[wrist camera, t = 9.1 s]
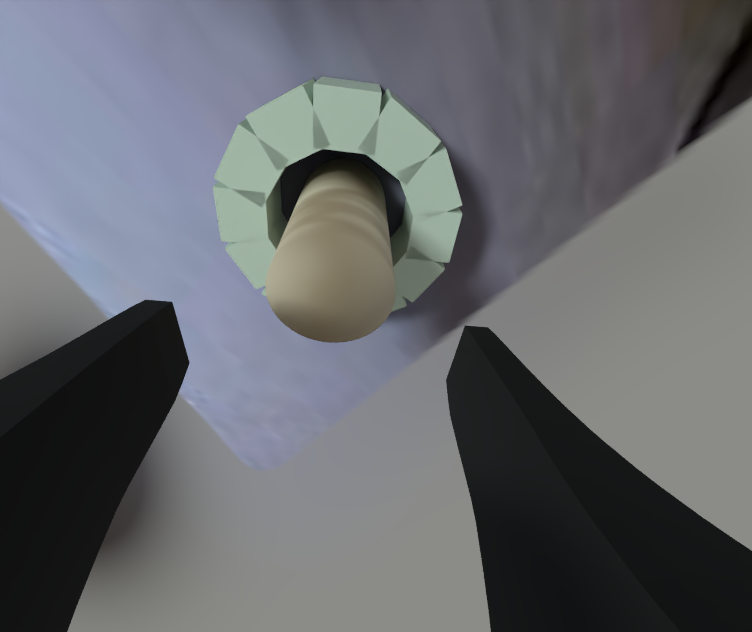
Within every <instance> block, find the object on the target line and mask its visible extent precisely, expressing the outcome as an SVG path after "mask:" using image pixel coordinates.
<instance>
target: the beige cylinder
mask: <svg viewBox="0 0 752 632" xmlns="http://www.w3.org/2000/svg"><path fill="white" fill-rule="evenodd" d="M265 285H266V295H267V299H268V302H269V304H270V306H271V308H272V310H273V311H274V313H275V314H276V316H277V317H278V318H279V319H280V320H281V321H282V322H283V323H284V324H285V325H286V326H287V327H289V328H290V329H291V330H293V331H295V332H296V333H298V334H300V335H302V336H304V337H307V338H310V339H313V340H317V341H322V342H336V343H337V342H347V341H352V340H356V339H359V338H361V337H364V336H366V335H368V334H370V333H372V332H373V331H374V330H376V329H377V328H378V327H380V326H381V325H382V324H383V323H384V321H385V320H386V319H387V318H388V316H389V314H390V313H391V311H392V308H393V306H394V302H395V295H396V288H395V278H394V270H393V262H392V253H391V245H390V237H389V228H388V220H387V212H386V203H385V195H384V190H383V187H382V185H381V183H380V181H379V179H378V178H377V176H376V175H375V174H374V173H373V172H372V171H371V170H370V169H369V168H368V167H366V166H365V165H363V164H361V163H359V162H357V161H354V160H350V159H334V160H330V161H327V162H325V163H323V164H321V165H319V166H318V167H317V168H315V169H314V170H313V172H312V173H311V174H310V175H309V177H308V178H307V180H306V182H305V185H304V187H303V189H302V192H301V194H300V196H299V199H298V201H297V203H296V206H295V208H294V210H293V213H292V215H291V217H290V220H289V222H288V224H287V227H286V229H285V231H284V234H283V236H282V238H281V241H280V243H279V245H278V248H277V250H276V252H275V255H274V257H273V259H272V262H271V264H270V266H269V269H268V272H267V275H266V282H265Z"/></svg>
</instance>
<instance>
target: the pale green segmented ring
mask: <svg viewBox="0 0 752 632" xmlns="http://www.w3.org/2000/svg"><path fill="white" fill-rule="evenodd" d="M381 95H382V92H381V88H380V84H374V83H366V82H359V81H352V80H344V79H337V78H330V77H323V76H322V77H321V78H320V79H318V80H317V81H316V82H315V80H314V78H313V79H311V80H309V81H307V82H305V83H304V84H302V85H300V86H298V87H296V88H294V89H292V90H291V91H289V92H287V93H285V94H283V95H281V96H280V97H278V98H276V99H274V100H272V101H270V102H269V103H267V104H265V105H263V106H262V107H260V108H258V109H257V110H255V111H253V112H252V113H250V114H248V115H247V116H245V117H246V119H245V120H244V121H242V122H240V123H239V124H238V126H237V128H236V130H235V132H234V135H233V137H232V139H231V141H230V143H229V146H228V148H227V150H226V152H225V154H224V156H223V159H222V161H221V163H220V165H219V167H218V170H217V172H216V174H215V176H214V178H215V179H216V180H218V182H217V183H216V184H215V185H214V186H213V192H214V198H215V205H216V211H217V217H218V223H219V230H220V236H221V241H226V242H229V243H228V245H227V246H226V248H225V250H226V251H227V252H228V254H229V255H230V256H231V257H232V259H233V260H234V261H235V263H236V264H237V265H238V267H239V268H240V269H241V271H242V272H243V273H244V274H245V276H246V277H247V278H248V280H249V281H250V282H251V284H252V285H253V286H254V287H255V289H258V288H260V287H263V286H265V282H266V275H267V272H268V269H269V266H270V264H271V262H272V259H273V257H274V255H275V252H276V250H277V248H278V245H279V243H280V241H281V238H282V236H283V234H284V231H285V229H286V227H287V224H288V221H287V219H286V218H285V216H284V214H283V213H282V205H281V183H280V178H281V176H282V175H283V173H284V171H285V169H286V167H287V166H288V165H291V164H293V163H295V162H297V161H299V160H301V159H303V158H305V157H307V156H309V155H311V154H313V153H315V152H317V151H319V150H321V149H327V150H335V151H343V152H352V153H360V154H366V155H368V156H369V157H370V158H371V159H373V160H374V161H375V162H376V163H378V164H379V165H380V166H382V167H383V168H384V169H385V170H387V171H388V172H389V173H391V174H392V175H393V176H394V177H396V178H397V179H398V180H399V181H400V183H401V186H402V188H403V191H404V194H405V196H406V202H405V208H404V214H403V219H402V224H401V226H400V227H399V228H398V229H397V230H396V232H395V233H394V234H393V235H392V237H391V238H390V245H391V253H392V262H393V270H394V278H395V288H396V295H395V302H394V306H393V308H392V311H395V310H398V309H401V308H404V307H407V305H406V299H408V300H409V301H411V302H414V301H415V300H416V299H417V298H418V297H419V296H420V295H421V294H422V293H423V292H424V291H425V290H426V289H427V288H428V287H429V286H430V285H431V284H432V282H433V281H434V280H435V279H436V278H437V277H438V276H439V275H440V274H441V273H442V272H443V271H444V270H445V267H444V264H443V262H446V263H449V262H450V258H451V254H452V251H453V247H454V243H455V240H456V236H457V232H458V229H459V225H460V221H461V218H462V212H461V210H460V208H459V206H462V202H461V198H460V195H459V191H458V188H457V184H456V181H455V177H454V174H453V170H452V167H451V164H450V160H449V157H448V153H447V150H446V148H445V147H444V145H443V144H442V143H441V140H440V139H439V137H438V136H437V135H436V133H435V132H434V131H433V129H432V128H431V127H430V125H428V124H427V123H426V122H425V121H424V120H423V119H422V118H421V117H419V116H418V115H417V114H416V113H415V112H414V111H413V110H412V109H411V108H409V107H408V106H407V105H406V104H405V103H404V102H403V101H402V100H400V99H399V98H398V97H397V96H396V95H395V94H394V93H393V92H391V91H390V90H389V89H387V90H386V92H385V93H384V95H383V96H382V98H381ZM262 295H264V296H266V297H267V295H266V286H265V288H264V290H263V293H262ZM392 311H391V312H392Z"/></svg>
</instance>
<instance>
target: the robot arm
mask: <svg viewBox="0 0 752 632" xmlns="http://www.w3.org/2000/svg"><path fill="white" fill-rule="evenodd" d="M188 366H189V360H188V356H187V353H186V349H185V346H184V342H183V338H182V335H181V331H180V328H179V324H178V321H177V317H176V314H175V310H174V307H173V303H172V302H167V301H154V300H144V301H142V302H140V303H138V304H136V305H134V306H132V307H130V308H129V309H127V310H125V311H123V312H121V313H120V314H118V315H116V316H114V317H113V318H111V319H109V320H107V321H106V322H104V323H102V324H100V325H99V326H97V327H95V328H94V329H92V330H90V331H88V332H87V333H85V334H83V335H81V336H80V337H78V338H76V339H74V340H73V341H71V342H69V343H67V344H65V345H64V346H62V347H60V348H59V349H57V350H55V351H53V352H51V353H50V354H48V355H46V356H44V357H42V358H40V359H38V360H37V361H35V362H33V363H31V364H29V365H27V366H25V367H24V368H22V369H20V370H18V371H16V372H14V373H12V374H10V375H8V376H7V377H5V378H3V379H1V380H0V632H67V631H68V628H69V625H70V623H71V620H72V617H73V614H74V612H75V609H76V606H77V604H78V601H79V599H80V596H81V594H82V591H83V589H84V586H85V584H86V581H87V579H88V576H89V574H90V571H91V569H92V566H93V564H94V561H95V559H96V556H97V554H98V552H99V549H100V547H101V544H102V542H103V540H104V538H105V535H106V533H107V531H108V528H109V526H110V524H111V521H112V519H113V517H114V515H115V512H116V510H117V508H118V506H119V504H120V502H121V500H122V497H123V496H124V494H125V492H126V489H127V487H128V485H129V484H130V482H131V480H132V478H133V477H134V475H135V473H136V471H137V469H138V468H139V466H140V464H141V462H142V460H143V458H144V457H145V455H146V453H147V451H148V449H149V448H150V446H151V444H152V442H153V440H154V439H155V437H156V435H157V433H158V431H159V430H160V428H161V426H162V424H163V422H164V420H165V418H166V416H167V414H168V413H169V411H170V409H171V407H172V405H173V404H174V402H175V400H176V397H177V395H178V392H179V390H180V387H181V385H182V382H183V379H184V377H185V374H186V371H187V368H188ZM446 382H447V393H448V402H449V409H450V416H451V421H452V425H453V429H454V433H455V437H456V441H457V445H458V449H459V453H460V457H461V461H462V464H463V469H464V473H465V477H466V480H467V485H468V488H469V492H470V496H471V501H472V505H473V510H474V515H475V520H476V526H477V532H478V539H479V545H480V552H481V558H482V565H483V572H484V579H485V587H486V595H487V602H488V609H489V617H490V627H491V632H752V551H751V550H750V549H748V548H747V547H745V546H744V545H742V544H741V543H739V542H737V541H736V540H734V539H733V538H732V537H730V536H729V535H727V534H726V533H724V532H723V531H721V530H720V529H718V528H717V527H716V526H714V525H713V524H711V523H710V522H708V521H707V520H705V519H704V518H702V517H701V516H700V515H698V514H697V513H696V512H694V511H693V510H691V509H690V508H689V507H687V506H686V505H685V504H683V503H682V502H680V501H679V500H678V499H676V498H675V497H674V496H672V495H671V494H670V493H668V492H667V491H665V490H664V489H663V488H661V487H660V486H659V485H657V484H656V483H655V482H654V481H652V480H651V479H650V478H648V477H647V476H646V475H644V474H643V473H642V472H641V471H639V470H638V469H636V468H635V467H634V466H633V465H632V464H631V463H629V462H628V461H627V460H626V459H625V458H623V457H622V456H621V455H620V454H618V453H617V452H616V451H615V450H614V449H612V448H611V447H610V446H609V445H607V444H606V443H605V442H604V441H603V440H601V439H600V438H599V437H598V436H597V435H596V434H595V433H593V432H592V431H591V430H590V429H589V428H588V427H587V426H586V425H585V424H584V423H582V422H581V421H580V420H579V419H578V418H577V417H576V416H575V415H574V414H573V413H572V412H571V411H570V410H568V409H567V408H566V407H565V406H564V405H563V404H562V403H561V402H560V401H559V400H558V399H557V398H556V397H555V396H554V395H553V394H552V393H551V392H550V391H549V390H548V389H547V388H546V387H545V386H544V385H543V384H542V383H541V382H540V381H539V380H538V379H537V378H536V377H535V376H534V375H533V374H532V373H531V372H530V371H529V370H528V369H527V368H526V367H525V366H524V364H522V362H521V361H520V360H519V359H518V358H517V357H516V356H515V355H514V354H513V353H512V352H511V351H510V350H509V348H508V347H507V346H506V345H505V344H504V343H503V342H502V341H501V340H500V339H499V338H498V337H497V336H496V335H495V334H494V333H493V332H492V331H491V330H490V329H489V328H487V327H475V326H465V327H464V330H463V333H462V336H461V339H460V342H459V345H458V348H457V350H456V353H455V356H454V359H453V362H452V365H451V368H450V371H449V374H448V376H447V379H446Z"/></svg>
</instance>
